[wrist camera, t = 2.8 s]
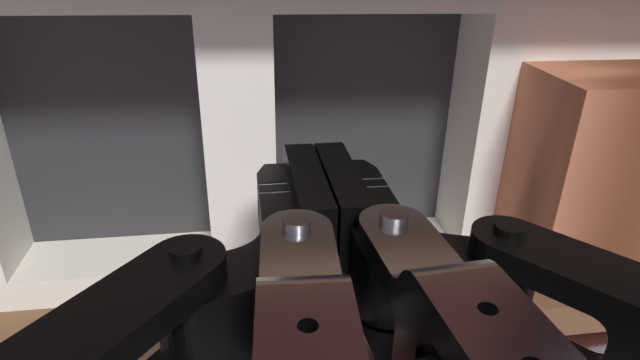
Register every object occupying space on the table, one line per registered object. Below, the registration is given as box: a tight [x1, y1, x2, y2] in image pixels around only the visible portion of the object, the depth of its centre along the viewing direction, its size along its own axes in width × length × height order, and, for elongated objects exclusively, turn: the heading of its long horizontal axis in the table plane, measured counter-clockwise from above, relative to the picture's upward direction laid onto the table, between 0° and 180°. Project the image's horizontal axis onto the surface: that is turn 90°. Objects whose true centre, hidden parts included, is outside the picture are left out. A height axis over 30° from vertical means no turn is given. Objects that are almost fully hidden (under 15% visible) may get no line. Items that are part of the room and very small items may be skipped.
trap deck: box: [0, 0, 640, 360], centre depth 16 cm, size 34×12×5 cm, turn 89°
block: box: [494, 59, 640, 262], centre depth 15 cm, size 5×5×3 cm
